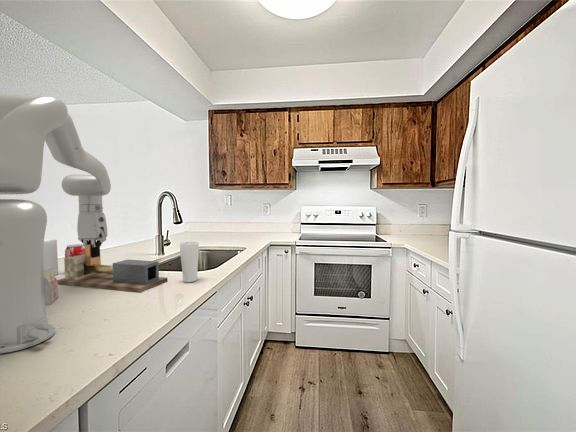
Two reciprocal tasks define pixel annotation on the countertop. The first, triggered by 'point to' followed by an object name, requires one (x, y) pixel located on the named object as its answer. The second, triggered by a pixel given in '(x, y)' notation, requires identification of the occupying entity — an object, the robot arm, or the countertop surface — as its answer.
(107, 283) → the walnut base board
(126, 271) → the galvanized steel sleeve
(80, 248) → the soda can
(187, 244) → the drinking glass
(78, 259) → the ash socket block
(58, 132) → the robot arm
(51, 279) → the white angular box
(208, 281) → the countertop surface
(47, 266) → the supplement box
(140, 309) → the countertop surface
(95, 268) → the brass tube
